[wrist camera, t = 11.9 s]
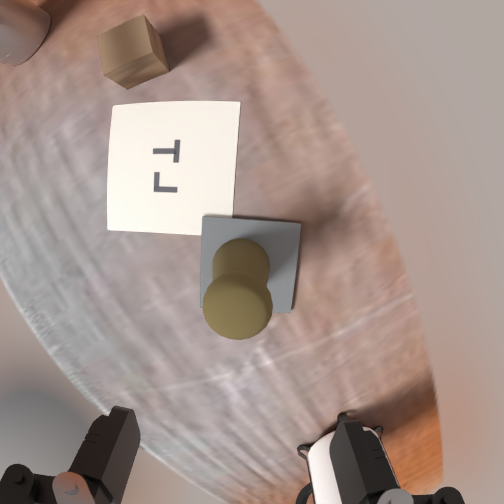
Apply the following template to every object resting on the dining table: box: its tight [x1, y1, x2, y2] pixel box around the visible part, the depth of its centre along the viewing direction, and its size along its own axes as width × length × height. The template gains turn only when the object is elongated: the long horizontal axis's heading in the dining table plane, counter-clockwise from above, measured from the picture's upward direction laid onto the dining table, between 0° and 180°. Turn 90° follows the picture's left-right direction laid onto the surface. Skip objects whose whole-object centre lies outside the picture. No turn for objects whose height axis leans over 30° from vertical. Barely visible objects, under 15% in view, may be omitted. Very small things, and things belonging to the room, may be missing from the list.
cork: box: [203, 238, 273, 340], centre depth 25 cm, size 6×6×11 cm
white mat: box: [107, 101, 241, 235], centre depth 28 cm, size 14×14×1 cm
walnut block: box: [97, 14, 169, 90], centre depth 22 cm, size 5×5×6 cm
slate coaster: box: [200, 216, 301, 313], centre depth 31 cm, size 10×10×1 cm
